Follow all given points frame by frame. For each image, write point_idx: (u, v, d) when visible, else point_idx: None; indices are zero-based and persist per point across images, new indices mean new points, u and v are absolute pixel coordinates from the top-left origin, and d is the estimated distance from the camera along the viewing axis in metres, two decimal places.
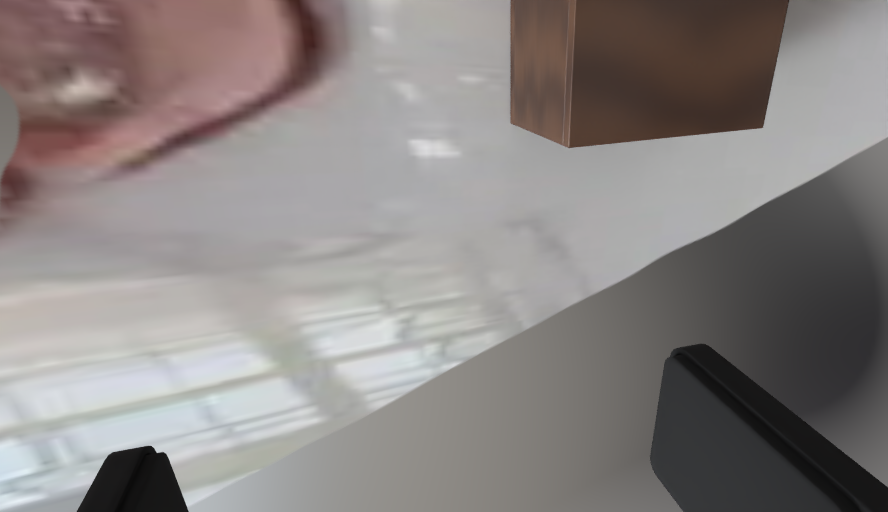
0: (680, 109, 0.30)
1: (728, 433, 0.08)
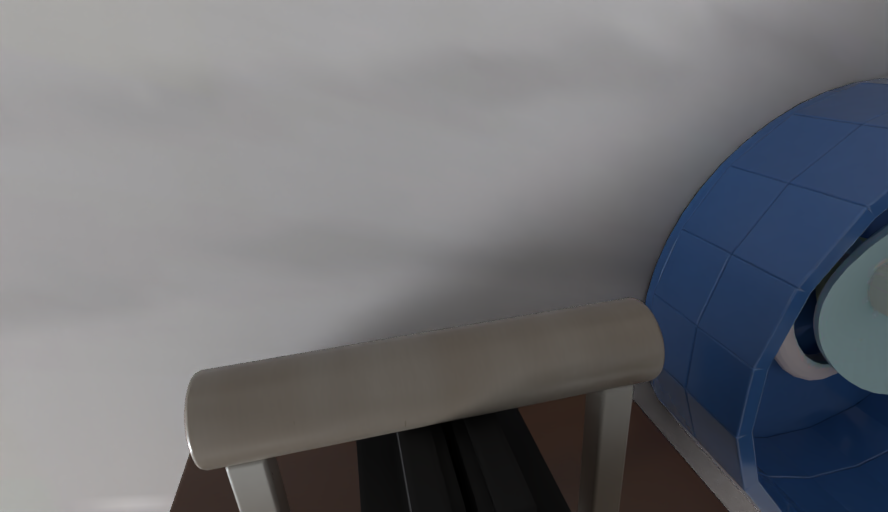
0: None
1: (449, 432, 0.08)
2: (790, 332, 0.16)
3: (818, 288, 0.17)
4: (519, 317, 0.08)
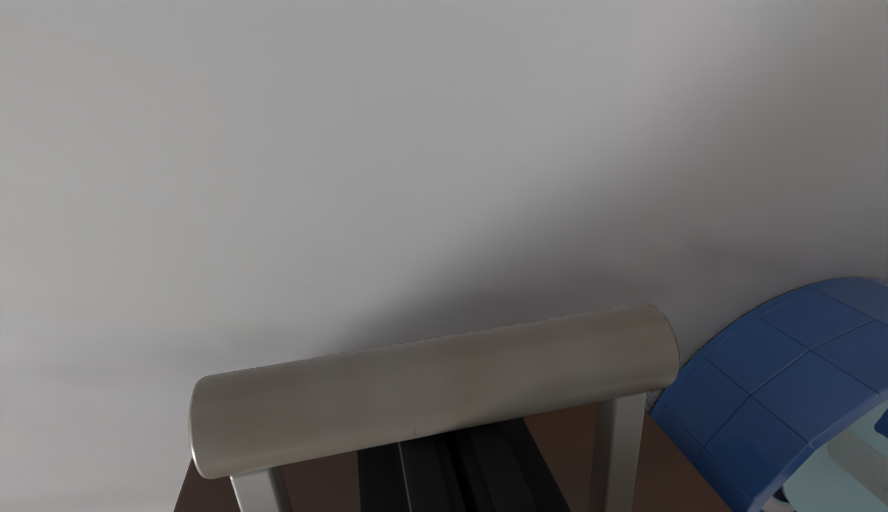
0: None
1: None
2: None
3: None
4: (530, 323, 0.08)
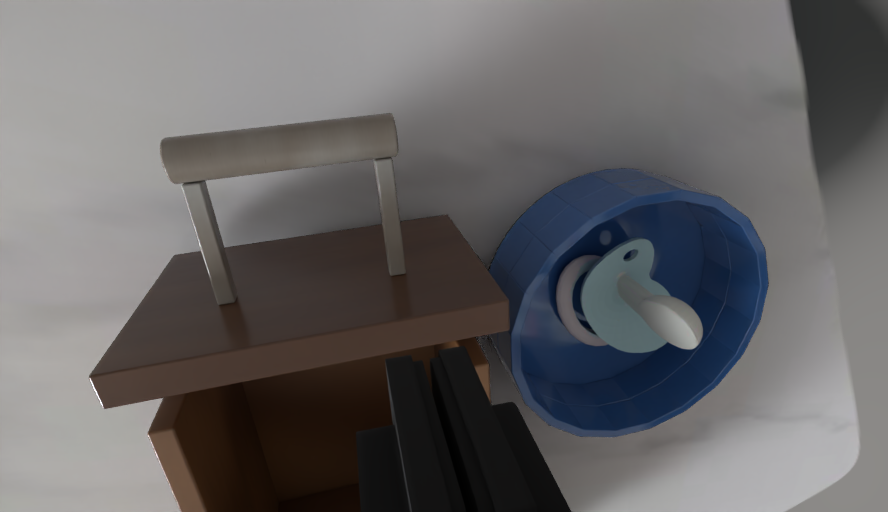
0: None
1: (449, 432, 0.08)
2: (573, 316, 0.27)
3: None
4: (328, 120, 0.16)
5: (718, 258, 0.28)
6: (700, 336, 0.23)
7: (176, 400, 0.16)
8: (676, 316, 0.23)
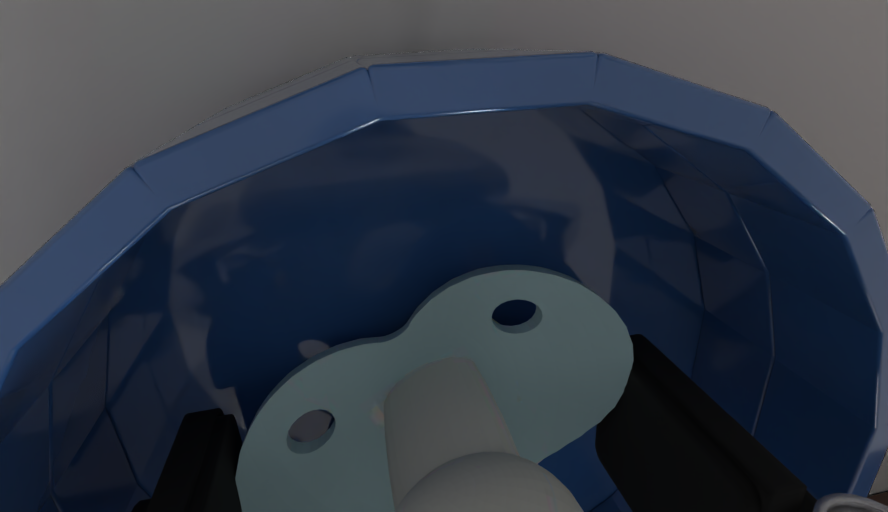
0: None
1: (653, 418, 0.08)
2: None
3: None
4: None
5: None
6: None
7: None
8: None
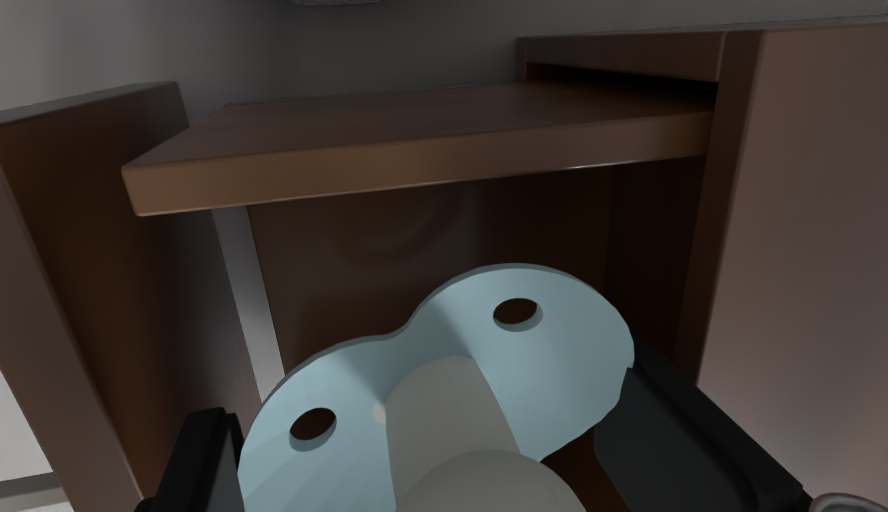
0: None
1: (650, 417, 0.08)
2: None
3: None
4: None
5: None
6: None
7: None
8: None
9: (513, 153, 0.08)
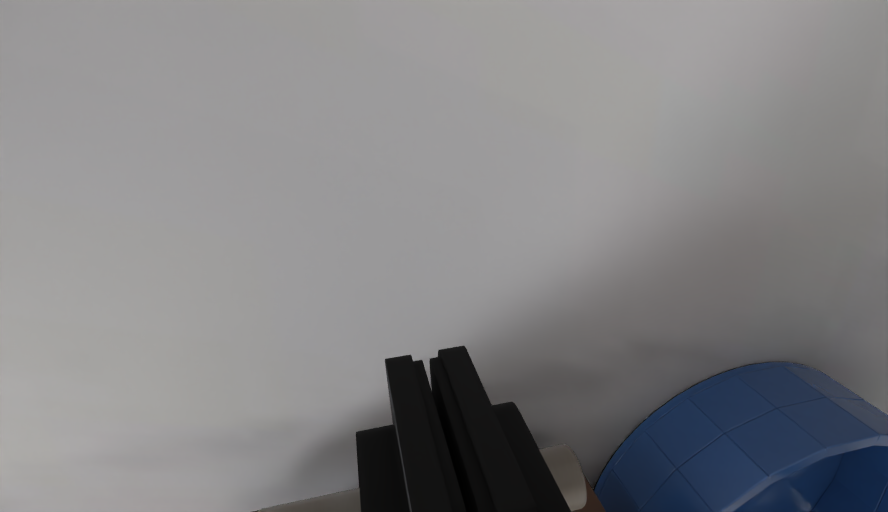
0: None
1: (449, 432, 0.08)
2: None
3: None
4: None
5: (870, 459, 0.23)
6: None
7: None
8: None
9: None
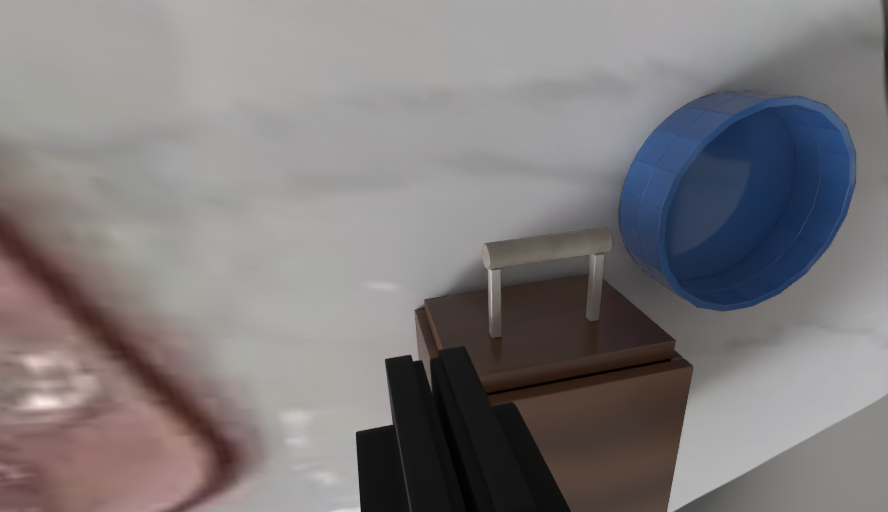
0: None
1: (449, 432, 0.08)
2: None
3: None
4: None
5: (809, 170, 0.34)
6: None
7: None
8: None
9: None
